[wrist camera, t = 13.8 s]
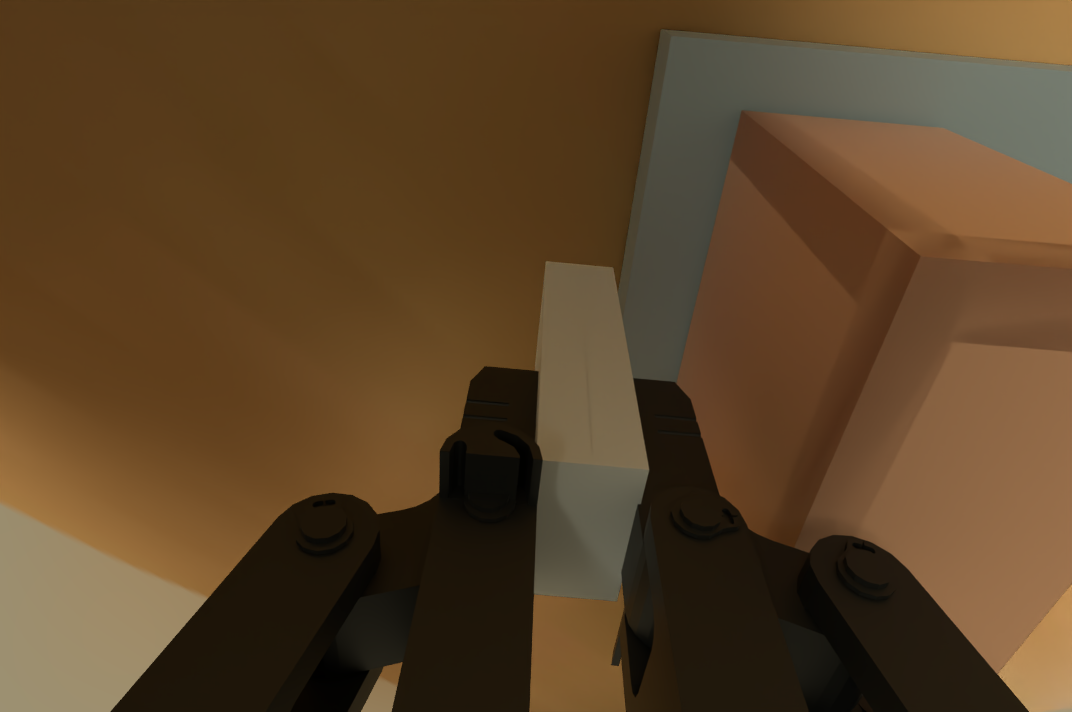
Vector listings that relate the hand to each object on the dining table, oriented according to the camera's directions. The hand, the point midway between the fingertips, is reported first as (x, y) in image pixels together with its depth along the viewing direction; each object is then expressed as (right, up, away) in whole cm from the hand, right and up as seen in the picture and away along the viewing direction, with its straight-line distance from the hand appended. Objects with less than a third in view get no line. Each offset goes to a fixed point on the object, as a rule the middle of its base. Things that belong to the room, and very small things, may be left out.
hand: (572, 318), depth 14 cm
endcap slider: (+5, +1, +1) cm, 5 cm away
